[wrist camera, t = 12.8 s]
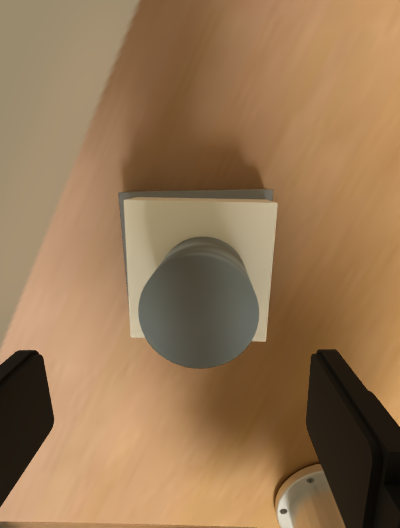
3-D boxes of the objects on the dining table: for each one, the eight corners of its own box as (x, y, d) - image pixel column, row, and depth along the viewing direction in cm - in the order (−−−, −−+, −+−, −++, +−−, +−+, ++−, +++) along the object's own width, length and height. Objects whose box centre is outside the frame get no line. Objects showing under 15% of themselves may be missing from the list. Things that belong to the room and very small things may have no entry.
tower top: (266, 199, 23) (277, 202, 19) (257, 317, 25) (265, 341, 22) (137, 196, 23) (123, 199, 19) (142, 314, 26) (130, 337, 22)
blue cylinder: (246, 234, 19) (259, 253, 14) (247, 318, 21) (259, 367, 15) (156, 238, 20) (132, 257, 14) (163, 320, 21) (143, 369, 15)
